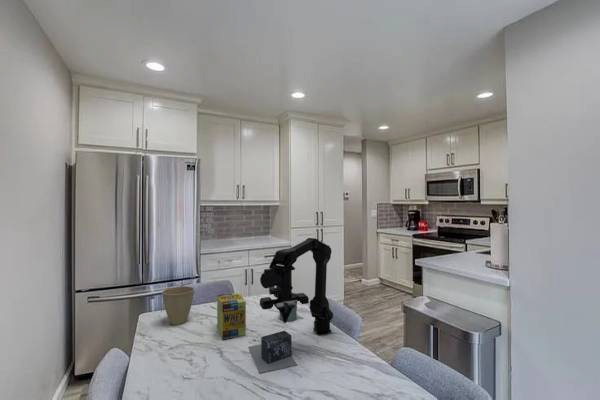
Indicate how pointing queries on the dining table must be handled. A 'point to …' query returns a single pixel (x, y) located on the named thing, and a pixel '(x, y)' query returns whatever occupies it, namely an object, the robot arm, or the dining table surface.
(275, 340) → the box
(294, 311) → the drinking glass
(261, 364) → the mat
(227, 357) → the dining table surface
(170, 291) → the plant pot
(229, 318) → the protein box
